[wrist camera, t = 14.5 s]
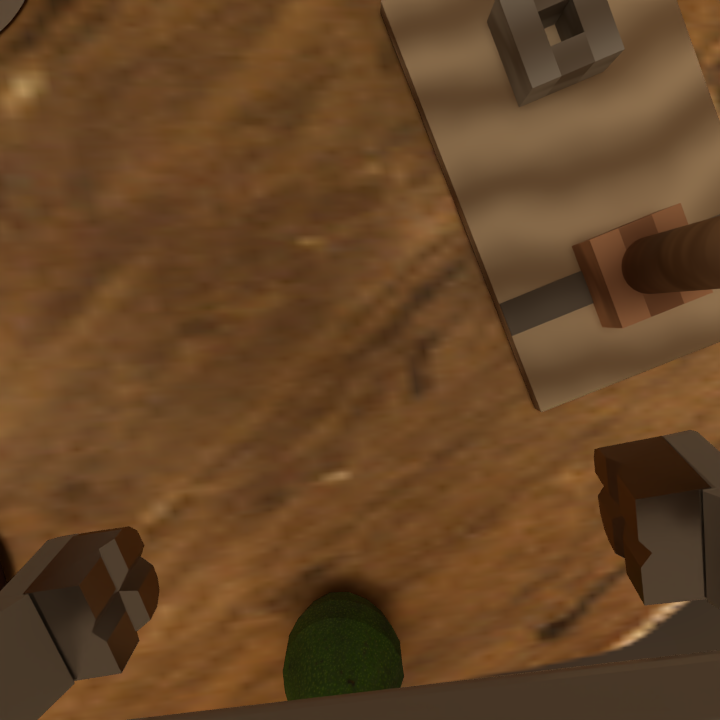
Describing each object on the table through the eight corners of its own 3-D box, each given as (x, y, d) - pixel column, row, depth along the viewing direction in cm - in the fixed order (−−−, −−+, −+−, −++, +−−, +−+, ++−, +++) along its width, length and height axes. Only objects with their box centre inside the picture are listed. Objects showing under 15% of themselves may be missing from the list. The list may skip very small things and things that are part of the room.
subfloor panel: (380, 12, 39) (381, -29, 34) (626, -96, 38) (662, -154, 33) (535, 408, 41) (556, 420, 36) (772, 314, 40) (825, 314, 35)
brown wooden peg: (594, 254, 38) (695, 227, 26) (644, 234, 38) (769, 197, 26) (612, 303, 38) (721, 298, 27) (662, 283, 38) (794, 269, 26)
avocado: (292, 667, 43) (261, 803, 31) (297, 568, 42) (267, 668, 30) (396, 675, 43) (405, 814, 31) (403, 576, 42) (415, 679, 30)
